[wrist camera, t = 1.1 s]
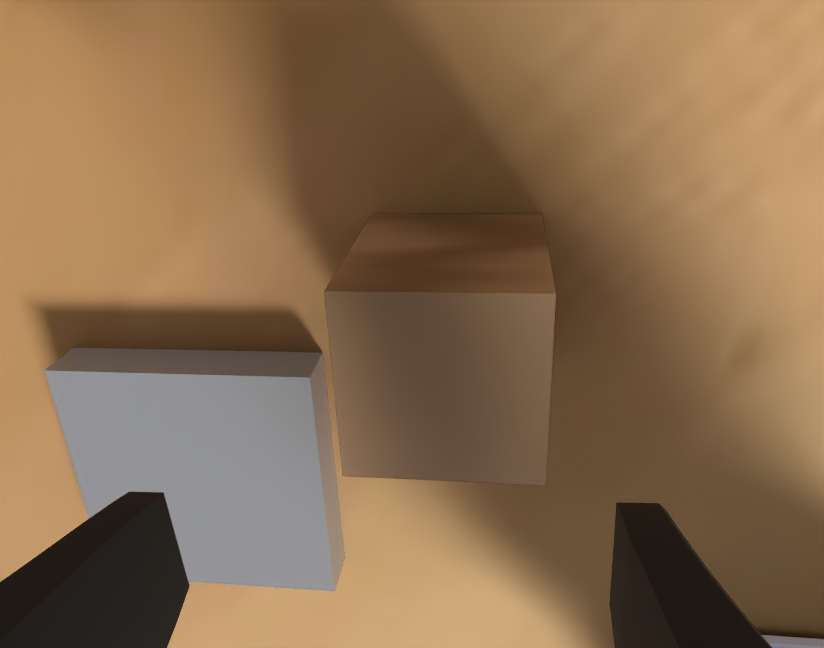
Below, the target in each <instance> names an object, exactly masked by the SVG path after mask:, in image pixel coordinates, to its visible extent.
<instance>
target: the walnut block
mask: <svg viewBox="0 0 824 648" xmlns="http://www.w3.org/2000/svg"><path fill="white" fill-rule="evenodd" d="M324 294H325V304H326V314H327V324H328V334H329V344H330V354H331V364H332V374H333V384H334V394H335V404H336V414H337V424H338V434H339V444H340V454H341V464H342V474H343V476H350V477H372V478H395V479H417V480H439V481H461V482H483V483H505V484H527V485H546V472H547V453H548V435H549V416H550V397H551V379H552V360H553V342H554V323H555V304H556V291H555V285H554V279H553V273H552V267H551V262H550V256H549V250H548V244H547V238H546V233H545V227H544V221H543V215H542V213H431V214H372V215H371V216H370V218H369V219H368V221H367V223H366V224H365V226H364V228H363V229H362V231H361V232H360V234H359V236H358V237H357V239H356V241H355V242H354V244H353V245H352V247H351V249H350V250H349V252H348V254H347V255H346V257H345V258H344V260H343V262H342V263H341V265H340V266H339V268H338V270H337V271H336V273H335V275H334V276H333V278H332V279H331V281H330V283H329V284H328V286H327V288H326V289H325V291H324Z"/></svg>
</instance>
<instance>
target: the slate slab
mask: <svg viewBox="0 0 824 648" xmlns="http://www.w3.org/2000/svg"><path fill="white" fill-rule="evenodd" d="M45 374H46V377H47V381H48V384H49V387H50V391H51V394H52V397H53V400H54V404H55V407H56V410H57V414H58V417H59V420H60V424H61V427H62V430H63V433H64V437H65V440H66V443H67V447H68V450H69V453H70V457H71V460H72V463H73V467H74V470H75V473H76V476H77V480H78V483H79V486H80V490H81V493H82V496H83V500H84V503H85V506H86V510H87V513H88V516H89V518H91V517H92V516H94V515H95V514H96V513H98V512H99V511H101V510H102V509H103V508H105V507H106V506H108V505H109V504H111V503H112V502H114V501H115V500H117V499H118V498H120V497H121V496H123V495H125V494H126V493H128V492H164V495H165V499H166V503H167V506H168V510H169V514H170V517H171V521H172V524H173V528H174V532H175V535H176V539H177V543H178V546H179V550H180V553H181V557H182V561H183V564H184V568H185V572H186V575H187V579H188V581H189V582H204V583H219V584H234V585H249V586H263V587H278V588H293V589H308V590H323V591H335V590H336V586H337V583H338V580H339V576H340V573H341V569H342V566H343V562H344V559H345V552H344V543H343V534H342V524H341V515H340V506H339V497H338V487H337V478H336V469H335V460H334V450H333V441H332V432H331V423H330V413H329V404H328V395H327V386H326V376H325V367H324V358H323V352H277V351H226V350H175V349H124V348H72V349H71V350H70V351H68V352H67V353H66V354H65V355H63V356H62V357H61V358H60V359H58V360H57V361H56V362H55V363H53V364H52V365H51V366H50V367H48V368H47V369H46V370H45Z"/></svg>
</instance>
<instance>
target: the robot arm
mask: <svg viewBox="0 0 824 648" xmlns="http://www.w3.org/2000/svg"><path fill="white" fill-rule="evenodd" d="M188 589H189V582H188V579H187V575H186V572H185V568H184V564H183V561H182V557H181V553H180V550H179V546H178V543H177V539H176V535H175V532H174V528H173V524H172V521H171V517H170V514H169V510H168V506H167V503H166V499H165V495H164V492H128V493H126V494H125V495H123V496H121V497H120V498H118V499H117V500H115V501H114V502H112V503H111V504H109V505H108V506H106V507H105V508H103V509H102V510H101V511H99V512H98V513H96V514H95V515H94V516H92V517H91V518H89V519H88V520H87V521H85V522H84V523H82V524H81V525H80V526H78V527H77V528H75V529H74V530H73V531H71V532H70V533H69V534H67V535H66V536H64V537H63V538H62V539H60V540H59V541H58V542H56V543H55V544H53V545H52V546H51V547H49V548H48V549H46V550H45V551H44V552H42V553H41V554H39V555H38V556H37V557H35V558H34V559H32V560H31V561H30V562H28V563H27V564H25V565H24V566H23V567H21V568H20V569H18V570H17V571H16V572H14V573H13V574H11V575H10V576H9V577H7V578H6V579H4V580H3V581H1V582H0V648H167V646H168V643H169V641H170V638H171V636H172V633H173V630H174V628H175V625H176V623H177V620H178V617H179V615H180V612H181V609H182V606H183V603H184V600H185V597H186V594H187V592H188ZM610 610H611V618H612V627H613V635H614V643H615V648H824V639H814V638H799V637H785V636H771V635H761V634H760V633H759V632H758V630H757V629H756V628H755V627H754V626H753V624H752V623H751V622H750V621H749V620H748V618H747V617H746V616H745V615H744V614H743V612H742V611H741V610H740V609H739V607H738V606H737V605H736V604H735V603H734V601H733V600H732V599H731V598H730V596H729V595H728V594H727V593H726V592H725V590H724V589H723V588H722V586H721V585H720V584H719V583H718V581H717V580H716V579H715V578H714V576H713V575H712V574H711V572H710V571H709V570H708V568H707V567H706V566H705V564H704V563H703V562H702V560H701V559H700V558H699V556H698V555H697V554H696V552H695V551H694V550H693V548H692V547H691V545H690V544H689V543H688V541H687V540H686V538H685V537H684V536H683V534H682V533H681V531H680V530H679V529H678V527H677V526H676V524H675V523H674V521H673V520H672V518H671V517H670V515H669V514H668V512H667V511H666V510H665V509H664V508H663V507H662V506H661V505H660V504H656V503H617V504H616V519H615V534H614V548H613V563H612V578H611V593H610Z"/></svg>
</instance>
